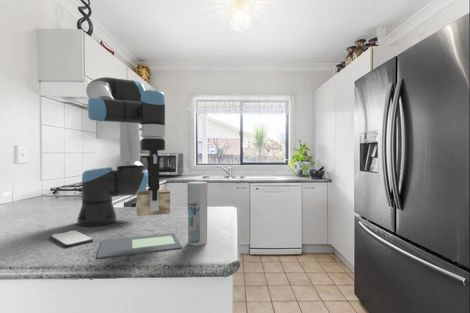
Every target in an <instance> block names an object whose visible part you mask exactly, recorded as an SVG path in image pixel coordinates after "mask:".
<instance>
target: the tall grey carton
mask: <svg viewBox="0 0 470 313" xmlns="http://www.w3.org/2000/svg"><path fill="white" fill-rule="evenodd" d="M207 242H208V182H207V181H199V180H198V181H188V182H187V244H188V245H189V246H195V247H197V246H198V247H199V246H205V245H206V244H207Z"/></svg>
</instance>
